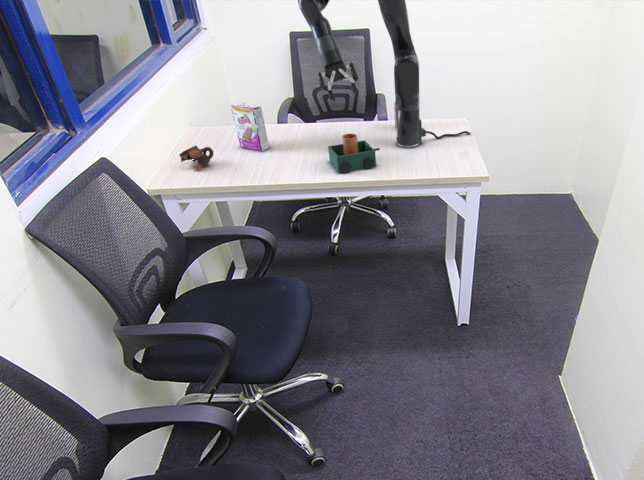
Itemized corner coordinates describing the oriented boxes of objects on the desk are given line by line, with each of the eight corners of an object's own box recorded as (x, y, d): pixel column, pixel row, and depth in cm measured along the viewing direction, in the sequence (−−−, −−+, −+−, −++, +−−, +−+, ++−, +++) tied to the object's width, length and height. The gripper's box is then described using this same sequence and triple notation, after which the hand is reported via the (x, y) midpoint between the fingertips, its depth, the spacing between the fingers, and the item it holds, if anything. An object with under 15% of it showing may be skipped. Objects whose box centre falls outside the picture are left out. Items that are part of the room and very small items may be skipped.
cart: (366, 155, 198) (364, 140, 195) (376, 166, 190) (375, 150, 186) (329, 161, 194) (327, 146, 190) (338, 173, 186) (336, 157, 182)
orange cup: (356, 157, 194) (354, 132, 188) (361, 162, 191) (359, 137, 184) (343, 160, 193) (340, 134, 187) (347, 165, 189) (344, 139, 183)
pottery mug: (191, 175, 187) (176, 154, 184) (190, 177, 195) (177, 157, 192) (220, 159, 190) (206, 138, 187) (218, 162, 198) (205, 142, 195)
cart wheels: (374, 152, 200) (373, 141, 198) (386, 165, 191) (386, 154, 188) (331, 160, 195) (329, 149, 192) (341, 174, 185) (340, 162, 183)
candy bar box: (239, 148, 205) (229, 105, 195) (247, 143, 209) (238, 101, 198) (262, 152, 202) (253, 109, 191) (270, 147, 205) (261, 105, 194)
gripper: (312, 54, 180) (328, 101, 185) (349, 43, 183) (364, 90, 189) (308, 59, 186) (325, 105, 192) (344, 48, 190) (359, 94, 195)
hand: (344, 97), depth 190 cm, fingers open, 8 cm apart
